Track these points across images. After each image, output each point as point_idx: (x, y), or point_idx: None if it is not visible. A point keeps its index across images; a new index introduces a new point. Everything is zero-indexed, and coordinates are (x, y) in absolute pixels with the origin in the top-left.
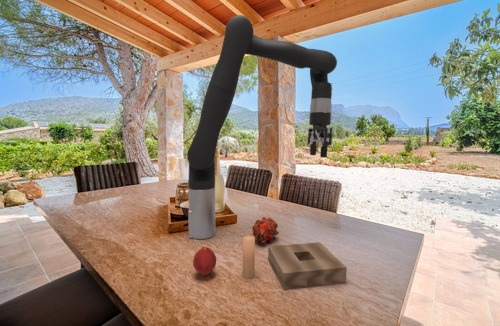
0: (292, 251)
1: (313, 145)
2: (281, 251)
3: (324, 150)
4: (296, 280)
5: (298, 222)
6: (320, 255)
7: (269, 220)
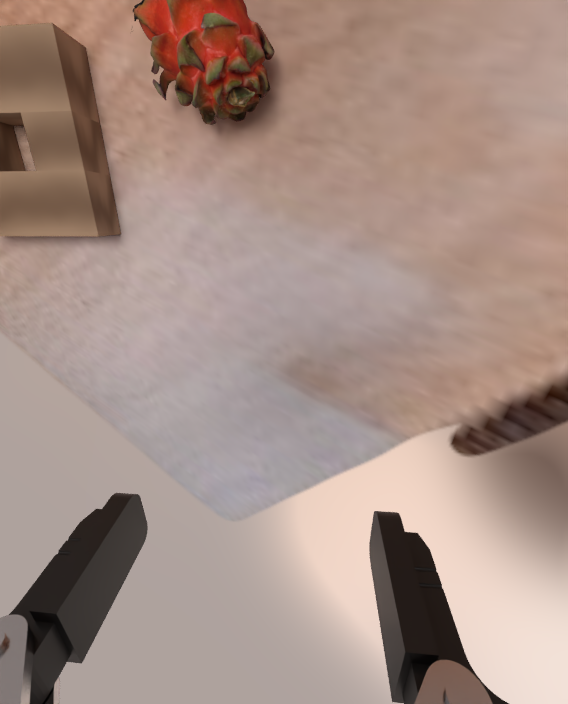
0: (27, 112)
1: (407, 683)
2: (20, 68)
3: (49, 575)
4: None
5: (366, 273)
6: (16, 196)
7: (196, 56)
